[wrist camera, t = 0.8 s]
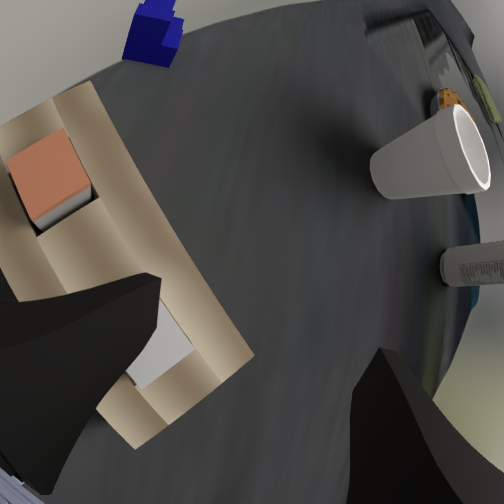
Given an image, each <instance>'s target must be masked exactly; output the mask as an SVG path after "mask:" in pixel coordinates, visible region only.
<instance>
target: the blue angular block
mask: <svg viewBox="0 0 504 504" xmlns="http://www.w3.org/2000/svg"><path fill="white" fill-rule="evenodd" d="M175 1H176V0H145V2H144V4H139V6H138V8H137V10H136V12H135V14H134V17H133V20H132V24H131V27H130V30H129V34H128V38H127V41H126V45H125V48H124V52H123V56H122V60H124V59H128V60H133V61H139V62H144V63H149V64H153V65H158V66H163V67H167V68H169V66H170V64H171V62H172V60H173V58H174V56H175V54H176V52H177V50H178V47H179V43H180V40H181V36H182V32H183V30H182V25H183V22H184V19H181V18H177V17H173V16H174V13H175V11H173V10H172V9H173V6H174V4H175Z"/></svg>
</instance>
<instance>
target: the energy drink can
mask: <svg viewBox="0 0 504 504" xmlns="http://www.w3.org/2000/svg"><path fill="white" fill-rule="evenodd" d="M440 273H441V277H442V279H443V281H444V282H445V283H447V284H448V285H449V286H451V287H457V286H476V285H492V284H504V240H503V241H496V242H489V243H481V244H474V245H467V246H459V247H452V248H448V249H447V250H446V252H444V253H443V254H442V256H441V259H440Z"/></svg>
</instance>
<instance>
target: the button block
mask: <svg viewBox="0 0 504 504" xmlns="http://www.w3.org/2000/svg"><path fill="white" fill-rule="evenodd" d="M63 127H64V129H65V131H66V133H67V136H68V138H69V140H70V142H71V144H72V146H73V148H74V150H75V152H76V154H77V156H78V158H79V160H80V162H81V164H82V166H83V168H84V170H85V172H86V174H87V176H88V178H89V180H90V182H91V203H89V204H88V205H86V206H84V207H83V208H81V209H80V210H78V211H76V212H75V213H73V214H72V215H70V216H68V217H67V218H65V219H64V220H62V221H61V222H59V223H57V224H56V225H54V226H53V227H51V228H50V229H48V230H47V231H45V232H44V233H42V234H41V232H40V230H39V228H38V227H37V225H36V224H35V223H34V222H33V221H32V220H31V218H30V216H29V214H28V212H27V210H26V208H25V205H24V203H23V201H22V199H21V196H20V194H19V192H18V189H17V187H16V185H15V182H14V180H13V177H12V175H11V172H10V170H9V167H8V164H7V162H6V161H7V160H8V159H10V158H11V157H13V156H15V155H16V154H18V153H19V152H21V151H23V150H24V149H26V148H28V147H29V146H31V145H33V144H34V143H36V142H38V141H40V140H41V139H43V138H45V137H47V136H49V135H50V134H52V133H54V132H56V131H58V130H60V129H62V128H63ZM0 268H1V270H2V272H3V274H4V276H5V277H6V279H7V281H8V283H9V285H10V287H11V289H12V291H13V292H14V294H15V296H16V298H17V299H18V301H19V302H22V301H32V300H39V299H45V298H51V297H56V296H61V295H66V294H69V293H73V292H77V291H81V290H85V289H89V288H92V287H96V286H99V285H102V284H106V283H109V282H112V281H115V280H119V279H122V278H125V277H128V276H132V275H135V274H139V273H144V272H147V273H149V274H152V275H155V276H157V277H160V278H162V281H161V290H160V300H161V301H162V303H163V304H164V306H165V307H166V308H167V310H168V311H169V313H170V314H171V316H172V317H173V319H174V320H175V322H176V323H177V324H178V326H179V327H180V329H181V330H182V331H183V333H184V334H185V336H186V337H187V338H188V340H189V341H190V343H191V344H192V345H193V347H194V348H195V350H193V351H192V352H191V353H189V354H188V355H187V356H186V357H184V358H183V359H182V360H180V361H179V362H178V363H176V364H175V365H174V366H173V367H171V368H170V369H169V370H167V371H166V372H165V373H163V374H162V375H161V376H159V377H158V378H157V379H155V380H154V381H153V382H151V383H150V384H149V385H147V386H146V387H145V388H143V389H142V390H141V389H140V387H139V386H138V385H137V384H136V383H135V381H134V380H133V379H132V378H131V377H130V375H129V374H128V373H127V372H126V371H125V372H124V373H123V375H122V376H121V377H120V378H119V379H118V381H117V382H116V383H115V384H114V385H113V386H112V388H111V389H110V390H109V391H108V392H107V394H106V395H105V396H104V398H103V399H102V400H101V402H100V403H99V405H98V406H97V408H96V410H97V411H98V412H99V413H100V414H101V415H102V416H103V417H104V418H105V419H106V421H107V422H108V423H109V424H110V425H111V426H112V427H113V428H114V429H115V430H116V431H117V432H118V433H119V434H120V435H121V436H122V437H123V438H124V439H125V440H126V441H127V442H128V443H129V444H130V445H131V446H132V447H133V448H134V449H137V448H138V447H139V446H141V445H142V444H144V443H145V442H146V441H148V440H149V439H151V438H152V437H153V436H155V435H156V434H157V433H159V432H160V431H161V430H163V429H164V428H165V427H167V426H168V425H169V424H171V423H172V422H173V421H175V420H176V419H177V418H179V417H180V416H181V415H183V414H184V413H185V412H186V411H188V410H189V409H190V408H192V407H193V406H194V405H195V404H197V403H198V402H199V401H200V400H202V399H203V398H204V397H205V396H207V395H208V394H209V393H210V392H212V391H213V390H214V389H215V388H216V387H218V386H219V385H220V384H221V383H223V382H224V381H225V380H226V379H227V378H229V377H230V376H231V375H232V374H233V373H235V372H236V371H237V370H238V369H239V368H240V367H242V366H243V365H244V364H245V363H246V362H247V361H249V360H250V359H251V358H252V357H253V356H254V354H253V352H252V351H251V350H250V348H249V347H248V345H247V344H246V342H245V341H244V339H243V338H242V336H241V335H240V333H239V332H238V331H237V329H236V328H235V326H234V325H233V323H232V322H231V320H230V319H229V317H228V316H227V314H226V313H225V311H224V310H223V308H222V307H221V305H220V303H219V302H218V300H217V299H216V297H215V296H214V294H213V293H212V291H211V290H210V288H209V287H208V285H207V283H206V282H205V280H204V279H203V277H202V276H201V274H200V272H199V271H198V269H197V268H196V266H195V265H194V263H193V261H192V260H191V258H190V257H189V255H188V253H187V252H186V250H185V249H184V247H183V245H182V244H181V242H180V240H179V239H178V237H177V235H176V234H175V232H174V231H173V229H172V227H171V226H170V224H169V222H168V221H167V219H166V217H165V216H164V214H163V212H162V211H161V209H160V207H159V205H158V204H157V202H156V200H155V199H154V197H153V195H152V194H151V192H150V190H149V188H148V187H147V185H146V183H145V181H144V180H143V178H142V176H141V174H140V173H139V171H138V169H137V167H136V166H135V164H134V162H133V160H132V158H131V157H130V155H129V153H128V151H127V149H126V148H125V146H124V144H123V142H122V140H121V138H120V137H119V135H118V133H117V131H116V129H115V127H114V125H113V124H112V122H111V120H110V118H109V116H108V114H107V112H106V110H105V108H104V107H103V105H102V103H101V101H100V99H99V97H98V95H97V93H96V91H95V89H94V87H93V85H92V83H91V81H88V82H86V83H84V84H81V85H79V86H77V87H74V88H72V89H70V90H68V91H66V92H63V93H61V94H59V95H57V96H55V97H53V98H51V99H49V100H47V101H45V102H43V103H41V104H39V105H37V106H35V107H34V108H32V109H30V110H28V111H26V112H24V113H23V114H21V115H19V116H17V117H16V118H14V119H12V120H10V121H9V122H7V123H5V124H4V125H2V126H1V127H0Z"/></svg>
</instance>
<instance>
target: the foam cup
mask: <svg viewBox="0 0 504 504" xmlns="http://www.w3.org/2000/svg"><path fill="white" fill-rule="evenodd" d="M370 172H371V176H372V180H373V182H374V184H375V186H376V188H377V190H378V191H379V192H380V193H381V194H382V195H383V196H384V197H385V198H388V199H391V200H392V199H404V198H414V197H424V196H435V195H446V194H458V193H466V194H472V193H477V192H481V191H485V190H487V189H488V188H489V187H490V175H491V174H490V167H489V161H488V157H487V153H486V150H485V147H484V143H483V141H482V138H481V136H480V134H479V131H478V129H477V127H476V125H475V123H474V122H473V120H472V118H471V117H470V115H469V114H468V112H467V111H466V110H465V109H464V108H463V107H462V106H461V105H457V104H454V105H452V106H449V107H447V108H445V109H442V110H440V111H437V114H436V115H434V116H433V117H431V118H429V119H428V120H426V121H425V122H423V123H421V124H420V125H418V126H416V127H415V128H413V129H412V130H410V131H408V132H407V133H405V134H403V135H402V136H400V137H399V138H397V139H395V140H394V141H392V142H390V143H389V144H387V145H386V146H384V147H382V148H381V149H379V150H378V151H377V152H375V153H373V155H372V157H371V159H370Z"/></svg>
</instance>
